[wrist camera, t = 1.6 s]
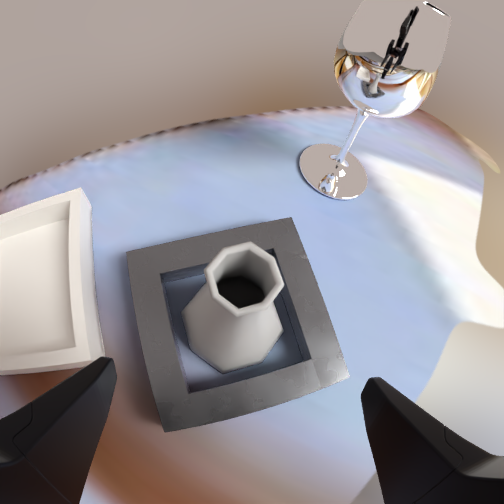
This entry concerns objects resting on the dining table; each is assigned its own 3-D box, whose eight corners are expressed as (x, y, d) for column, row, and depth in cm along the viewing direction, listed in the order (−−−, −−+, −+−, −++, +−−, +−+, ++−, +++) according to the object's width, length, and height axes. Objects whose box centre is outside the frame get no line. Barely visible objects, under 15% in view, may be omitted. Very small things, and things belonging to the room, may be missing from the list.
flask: (164, 309, 21) (128, 253, 12) (243, 260, 23) (261, 180, 14) (219, 391, 19) (222, 401, 10) (299, 334, 21) (358, 297, 12)
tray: (106, 363, 18) (90, 360, 16) (-15, 376, 15) (-35, 372, 13) (92, 206, 24) (81, 187, 21) (-14, 241, 20) (-29, 227, 18)
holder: (338, 378, 20) (350, 377, 18) (169, 427, 17) (164, 432, 15) (285, 229, 25) (291, 217, 23) (133, 262, 22) (126, 252, 20)
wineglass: (378, 199, 28) (485, 41, 10) (311, 205, 26) (407, -3, 8) (350, 144, 31) (420, -4, 13) (288, 145, 29) (341, -34, 11)
